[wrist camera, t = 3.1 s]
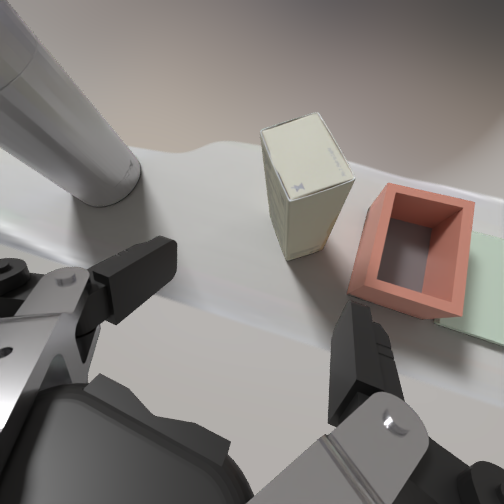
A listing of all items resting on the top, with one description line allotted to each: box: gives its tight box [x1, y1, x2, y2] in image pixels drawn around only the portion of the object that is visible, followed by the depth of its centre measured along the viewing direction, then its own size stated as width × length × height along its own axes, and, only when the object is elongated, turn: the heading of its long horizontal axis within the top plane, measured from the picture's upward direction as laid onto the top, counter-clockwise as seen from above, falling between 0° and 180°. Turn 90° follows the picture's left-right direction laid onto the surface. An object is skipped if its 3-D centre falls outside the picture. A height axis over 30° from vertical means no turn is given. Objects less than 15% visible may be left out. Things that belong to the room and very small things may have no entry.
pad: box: [434, 231, 504, 346], centre depth 22 cm, size 6×10×1 cm, turn 159°
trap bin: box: [347, 183, 475, 319], centre depth 21 cm, size 7×10×5 cm
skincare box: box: [260, 112, 355, 261], centre depth 20 cm, size 6×4×12 cm
